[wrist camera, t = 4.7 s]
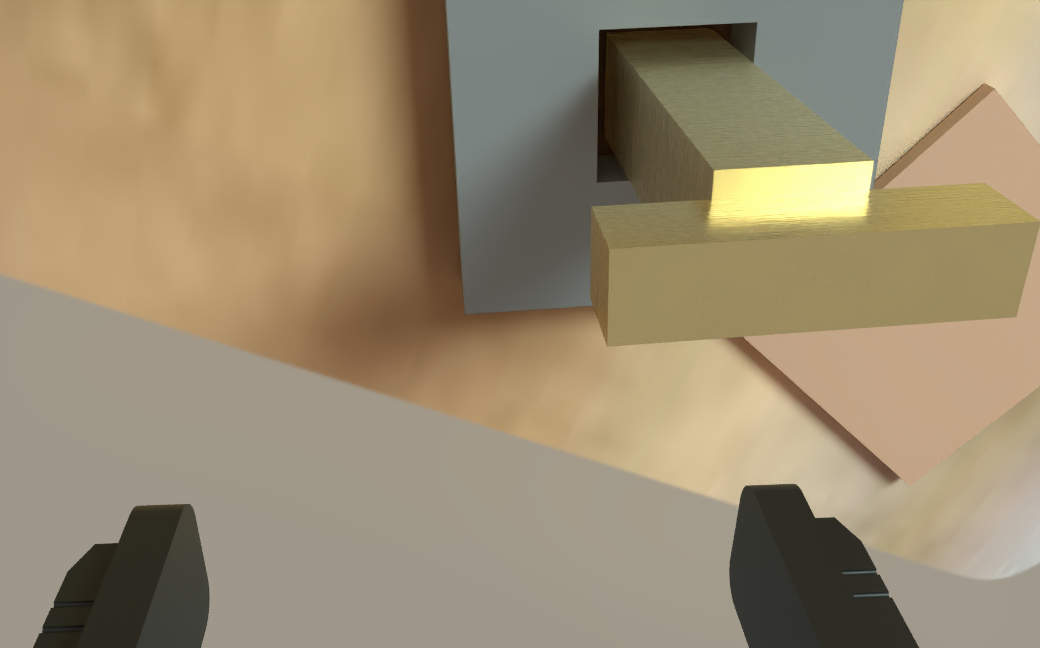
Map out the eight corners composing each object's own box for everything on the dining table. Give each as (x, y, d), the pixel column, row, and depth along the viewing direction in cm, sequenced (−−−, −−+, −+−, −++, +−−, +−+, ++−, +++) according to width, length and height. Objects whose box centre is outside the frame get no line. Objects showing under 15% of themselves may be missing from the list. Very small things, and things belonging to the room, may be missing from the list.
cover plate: (461, 280, 41) (465, 314, 38) (436, -138, 33) (438, -131, 31) (829, 256, 42) (857, 287, 40) (888, -154, 34) (927, -148, 32)
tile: (724, 316, 43) (729, 324, 42) (984, 83, 39) (994, 88, 38) (902, 475, 49) (909, 485, 48) (1146, 286, 45) (1158, 294, 44)
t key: (529, 139, 38) (606, 373, 23) (527, 36, 36) (609, 217, 21) (776, 125, 39) (1009, 343, 24) (787, 24, 37) (1048, 190, 22)
